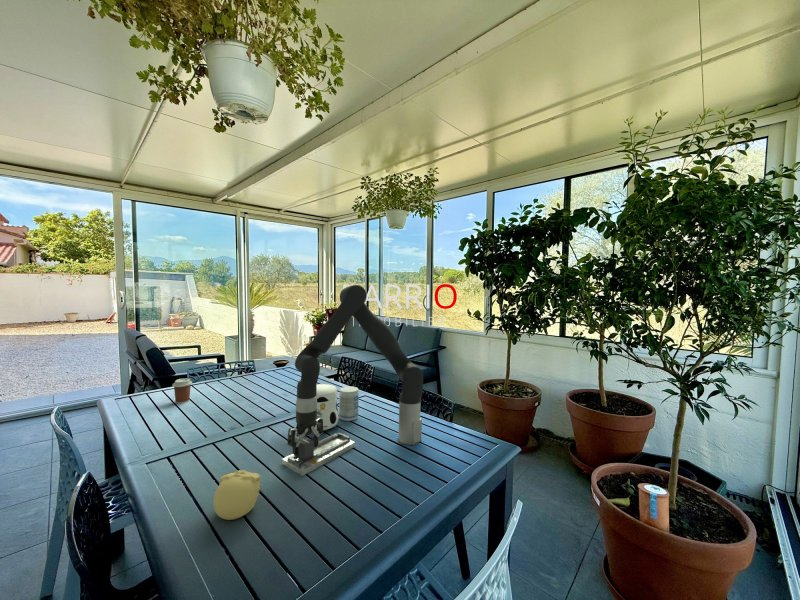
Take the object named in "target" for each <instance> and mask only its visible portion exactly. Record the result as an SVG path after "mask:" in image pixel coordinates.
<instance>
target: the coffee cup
mask: <svg viewBox="0 0 800 600" xmlns="http://www.w3.org/2000/svg"><path fill="white" fill-rule="evenodd" d="M192 384H193V381H191V379H190V378H179V379H176V380H175V381H174V383H172V387H173V389H174V391H173V392H174V398H175V399H174V401H175V404H179V405H180V404H185V403H188V402H190V396H191V385H192Z"/></svg>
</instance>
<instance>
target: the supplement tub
mask: <svg viewBox="0 0 800 600" xmlns="http://www.w3.org/2000/svg"><path fill="white" fill-rule="evenodd" d="M359 395H360V394H359V388H358V387H356V386H343V387H341V388H339V406H338V407H339V409H338V414H339V417H338V418H339V419H340V420H342V421H345V422H351V421H355V420H356V419H358V417H359Z"/></svg>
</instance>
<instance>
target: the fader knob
mask: <svg viewBox="0 0 800 600" xmlns="http://www.w3.org/2000/svg"><path fill="white" fill-rule="evenodd" d="M313 456H314V441H313V439H311V438H309V437H305V438H303V440H302V441H301V442H300V444H299V456H298V458H300V459H301V460H303V461H305V460H307V459H309V458H311V457H313Z"/></svg>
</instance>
